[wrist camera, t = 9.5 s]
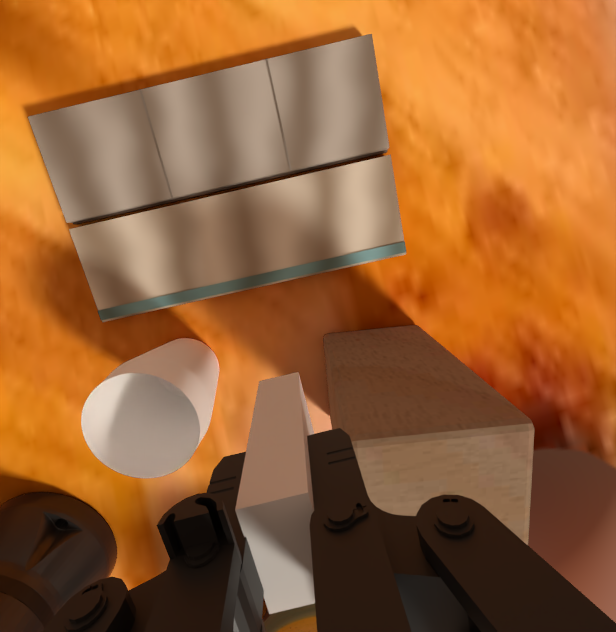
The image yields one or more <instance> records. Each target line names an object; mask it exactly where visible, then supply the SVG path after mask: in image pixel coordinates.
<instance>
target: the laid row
mask: <svg viewBox="0 0 616 632" xmlns="http://www.w3.org/2000/svg"><path fill="white" fill-rule="evenodd" d="M28 119H29V122H30V124H31V127H32V130H33V133H34V135H35V138H36V141H37V143H38V146H39V149H40V152H41V154H42V157H43V160H44V163H45V165H46V168H47V171H48V173H49V176H50V179H51V182H52V184H53V187H54V190H55V193H56V195H57V198H58V201H59V203H60V206H61V209H62V212H63V214H64V217H65V220H66V223H73V224H81V223H85V222H90V221H94V220H98V219H103V218H107V217H111V216H116V215H120V214H124V213H129V212H133V211H137V210H142V209H146V208H150V207H154V206H159V205H163V204H167V203H172V202H176V201H180V200H185V199H189V198H193V197H198V196H202V195H206V194H211V193H215V192H219V191H223V190H228V189H232V188H236V187H241V186H245V185H249V184H254V183H258V182H262V181H267V180H271V179H275V178H280V177H284V176H288V175H292V174H297V173H301V172H305V171H310V170H314V169H318V168H323V167H327V166H331V165H336V164H340V163H344V162H349V161H353V160H357V159H361V158H366V157H370V156H374V155H379V154H383V153H386V152H387V149H388V148H389V142H388V135H387V129H386V123H385V116H384V110H383V103H382V97H381V91H380V84H379V78H378V71H377V65H376V58H375V52H374V46H373V39H372V34H369V35H365V36H360V37H356V38H352V39H348V40H344V41H340V42H335V43H331V44H327V45H323V46H319V47H315V48H311V49H306V50H302V51H298V52H294V53H290V54H286V55H282V56H277V57H273V58H269V59H265V60H261V61H257V62H253V63H248V64H244V65H240V66H236V67H232V68H228V69H224V70H219V71H215V72H211V73H207V74H203V75H199V76H195V77H190V78H186V79H182V80H178V81H174V82H170V83H165V84H161V85H157V86H153V87H149V88H145V89H139V90H136V91H132V92H128V93H124V94H120V95H116V96H112V97H107V98H103V99H99V100H95V101H91V102H87V103H83V104H78V105H74V106H70V107H66V108H62V109H58V110H54V111H49V112H45V113H41V114H37V115H33V116H29V117H28Z"/></svg>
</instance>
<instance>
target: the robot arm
mask: <svg viewBox="0 0 616 632" xmlns="http://www.w3.org/2000/svg"><path fill="white" fill-rule="evenodd" d="M157 527H158V529H159V532H160V534H161V537H162V540H163V542H164V545H165V547H166V550H167V552H168V555H169V557H170V561H169V564H168V567H167V570H166V571H164V572H163V573H161V574H160V575H158V576H156V577H154V578H152V579H151V580H149V581H147V582H145V583H143V584H141V585H139V586H137V587H135V588H133V589H131V590H129V591H128V589H127V587H126V585H125V584H124V582H123V580H122V579H119V578H115V577H109V576H110V574H111V573H112V571H113V569H114V566H115V563H116V558H117V546H116V541H115V538H114V535H113V533H112V531H111V529H110V527H109V526H108V524H107V523H106V522H105V520H104V519H103V518H102V517H101V516H100V515H99V514H98V513H97V512H96V511H95V510H93V509H92V508H91V507H89V506H88V505H86V504H84V503H82V502H81V501H79V500H76V499H74V498H71V497H68V496H65V495H61V494H56V493H48V492H36V493H29V494H24V495H20V496H17V497H15V498H13V499H11V500H9V501H7V502H5V503H4V504H3V505H1V506H0V632H267V631H266V628H265V625H264V622H263V619H262V612H263V597H264V599H265V602H266V605H267V608H268V611H269V614H273V613H277V612H281V611H285V610H289V609H293V608H297V607H302V606H306V605H310V604H314V603H315V609H316V623H317V632H616V623H615V622H614V621H613V620H611V619H610V618H609V617H608V616H607V615H606V614H605V613H603V612H602V611H601V610H600V609H599V608H598V607H597V606H595V604H593V603H592V602H591V601H590V600H589V599H588V598H587V597H585V596H584V595H583V594H582V593H581V592H580V591H578V589H576V588H575V587H574V586H573V585H572V584H571V583H570V582H569V581H567V580H566V579H565V578H564V577H563V576H562V575H561V574H559V573H558V572H557V571H556V570H555V569H554V568H552V566H550V565H549V564H548V563H547V562H546V561H545V560H544V559H542V558H541V557H540V556H539V555H538V554H537V553H536V552H534V551H533V550H532V549H531V548H530V547H529V546H528V545H527V544H526V543H524V542H523V541H522V540H521V539H520V538H519V537H518V536H517V535H515V534H514V533H513V532H512V531H511V530H510V529H509V528H507V527H506V526H505V525H504V524H503V523H502V522H501V521H500V520H498V519H497V518H496V517H495V516H494V515H493V514H492V513H491V512H489V511H488V510H487V509H486V508H485V507H484V506H482V505H481V504H479V503H478V502H476V501H474V500H473V499H471V498H467V497H464V496H460V495H440V496H437V497H433V498H431V499H429V500H428V501H426V502H425V503H424V504H422V505H421V507H420V509H419V511H418V512H417V515H416V516H404V515H395V514H391V513H388V512H385V511H383V510H381V509H379V508H378V507H376V506H375V505H374V504H373V503H372V502H371V500H370V498H369V496H368V494H367V491H366V488H365V484H364V481H363V478H362V475H361V471H360V468H359V465H358V462H357V458H356V455H355V452H354V449H353V445H352V442H351V439H350V436H349V435H348V434H347V433H346V432H344V431H343V430H342V429H341V428H337V429H333V430H329V431H325V432H321V433H316V434H314V431H313V427H312V423H311V419H310V415H309V411H308V407H307V403H306V399H305V395H304V392H303V388H302V384H301V380H300V376H299V372H296V373H292V374H287V375H283V376H279V377H275V378H271V379H267V380H263V381H259V386H258V391H257V397H256V402H255V407H254V412H253V418H252V423H251V428H250V434H249V439H248V444H247V450H246V452H243V453H239V454H235V455H230V456H226V457H224V458H223V459H222V460H221V461H220V463H219V464H218V465H217V466H216V467H215V469H214V470H213V473H212V477H211V480H210V485H209V486H208V490H207V493H202V494H196V495H194V496H191V497H188V498H186V499H184V500H182V501H181V502H179V503H177V504H176V505H174V506H173V507H172V508H171V509H170V510H169V511H168V512H166V513H165V514H164V515H163V517H162V518H161V520H160V521H159V523H158V525H157Z"/></svg>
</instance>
